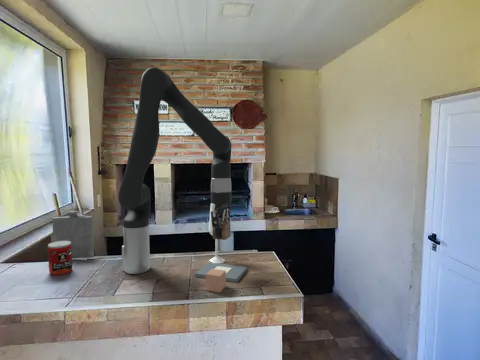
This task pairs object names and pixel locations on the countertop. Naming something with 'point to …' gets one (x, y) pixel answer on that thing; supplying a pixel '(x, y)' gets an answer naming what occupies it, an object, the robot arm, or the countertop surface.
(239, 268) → the slate board
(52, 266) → the canned food
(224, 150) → the robot arm
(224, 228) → the walnut block
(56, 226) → the hip flask
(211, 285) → the terracotta block
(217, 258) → the champagne flute
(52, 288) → the countertop surface
